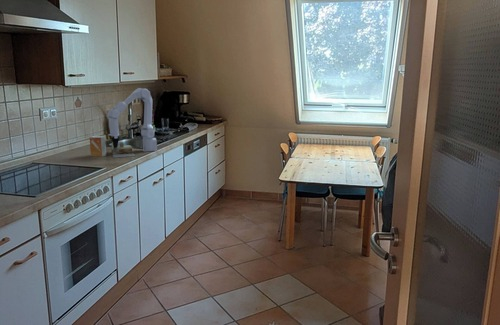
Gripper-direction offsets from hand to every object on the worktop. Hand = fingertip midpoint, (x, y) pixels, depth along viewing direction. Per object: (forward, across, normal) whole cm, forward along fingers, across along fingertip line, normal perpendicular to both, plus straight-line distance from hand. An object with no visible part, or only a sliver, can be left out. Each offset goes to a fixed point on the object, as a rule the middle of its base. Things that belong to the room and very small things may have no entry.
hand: (115, 147), depth 277 cm
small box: (+5, -2, -11) cm, 12 cm away
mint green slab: (+2, -5, +4) cm, 7 cm away
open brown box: (+5, -5, +4) cm, 9 cm away
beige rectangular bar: (0, -7, 0) cm, 7 cm away
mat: (+5, +5, +4) cm, 8 cm away
